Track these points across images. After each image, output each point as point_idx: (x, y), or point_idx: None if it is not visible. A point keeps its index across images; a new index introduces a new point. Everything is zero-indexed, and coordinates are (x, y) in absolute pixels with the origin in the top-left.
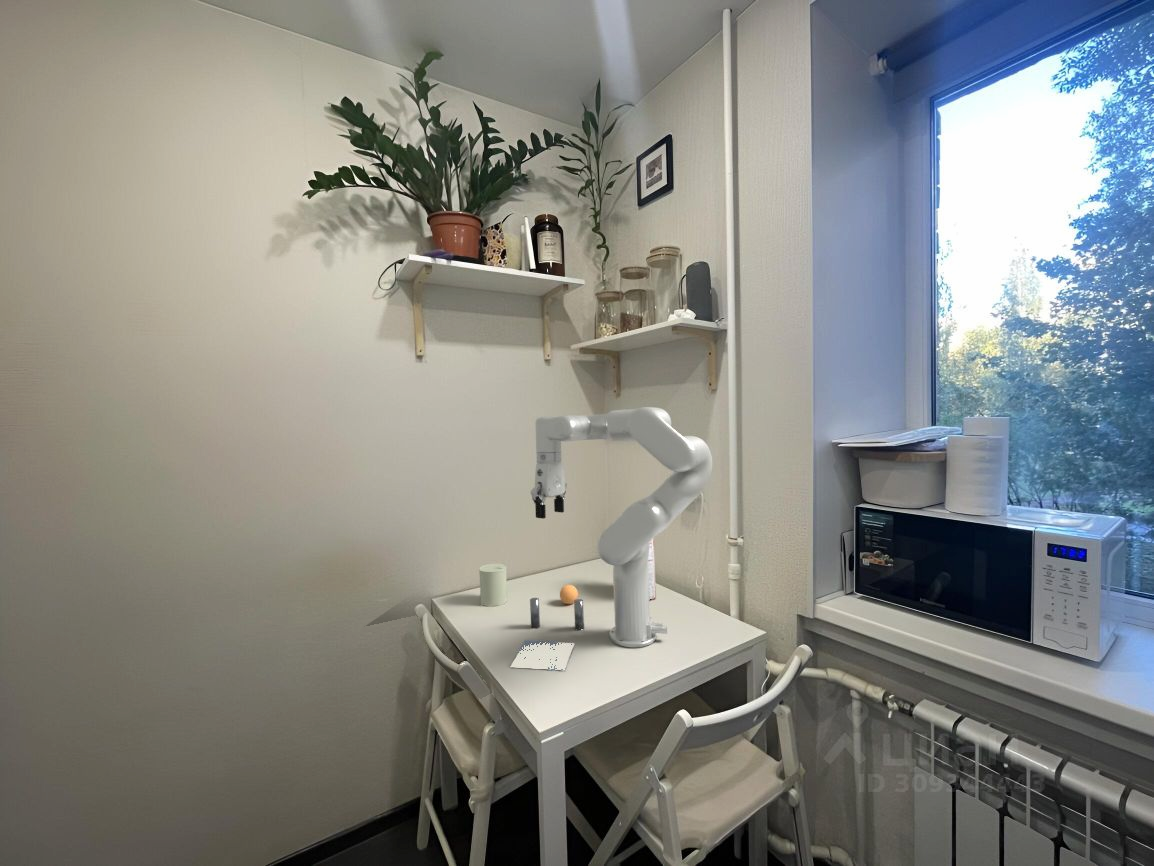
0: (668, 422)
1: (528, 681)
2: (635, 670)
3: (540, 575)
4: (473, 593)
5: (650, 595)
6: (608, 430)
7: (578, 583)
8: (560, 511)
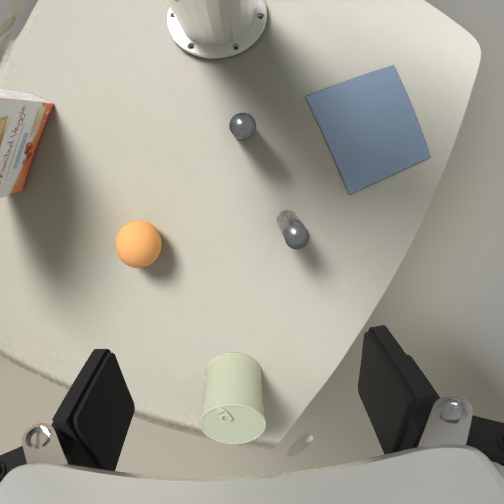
0: None
1: (439, 104)
2: None
3: None
4: None
5: (34, 96)
6: None
7: (54, 292)
8: (117, 367)
